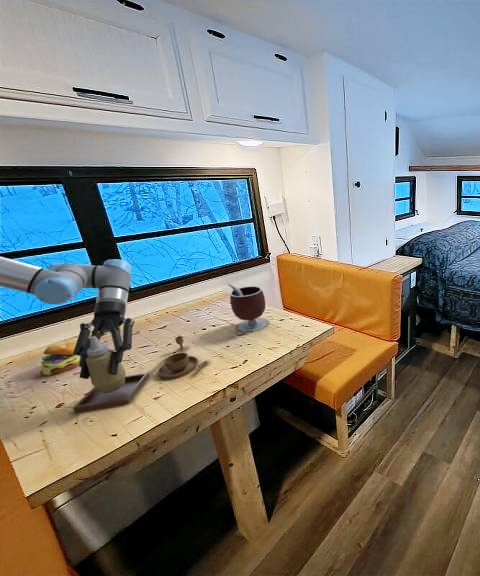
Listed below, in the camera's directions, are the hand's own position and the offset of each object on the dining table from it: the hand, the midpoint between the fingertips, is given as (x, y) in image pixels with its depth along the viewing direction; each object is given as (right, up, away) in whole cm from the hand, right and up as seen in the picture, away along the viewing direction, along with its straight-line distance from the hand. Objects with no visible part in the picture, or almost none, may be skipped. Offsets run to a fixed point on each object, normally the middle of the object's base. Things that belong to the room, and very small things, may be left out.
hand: (98, 375), depth 90 cm
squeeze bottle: (-1, -5, +6) cm, 8 cm away
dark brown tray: (-1, -8, +6) cm, 10 cm away
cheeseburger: (-33, -3, +21) cm, 39 cm away
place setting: (+12, -2, +22) cm, 25 cm away
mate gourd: (+24, +8, +49) cm, 55 cm away
